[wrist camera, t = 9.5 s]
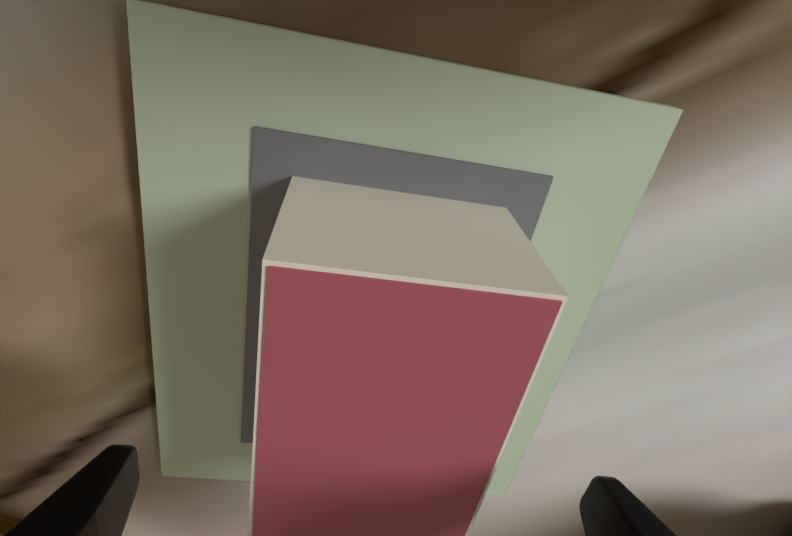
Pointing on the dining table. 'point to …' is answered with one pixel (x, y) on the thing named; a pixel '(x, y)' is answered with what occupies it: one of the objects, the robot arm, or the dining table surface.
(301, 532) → the card box
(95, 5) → the dining table surface
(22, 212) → the dining table surface
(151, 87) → the mat
